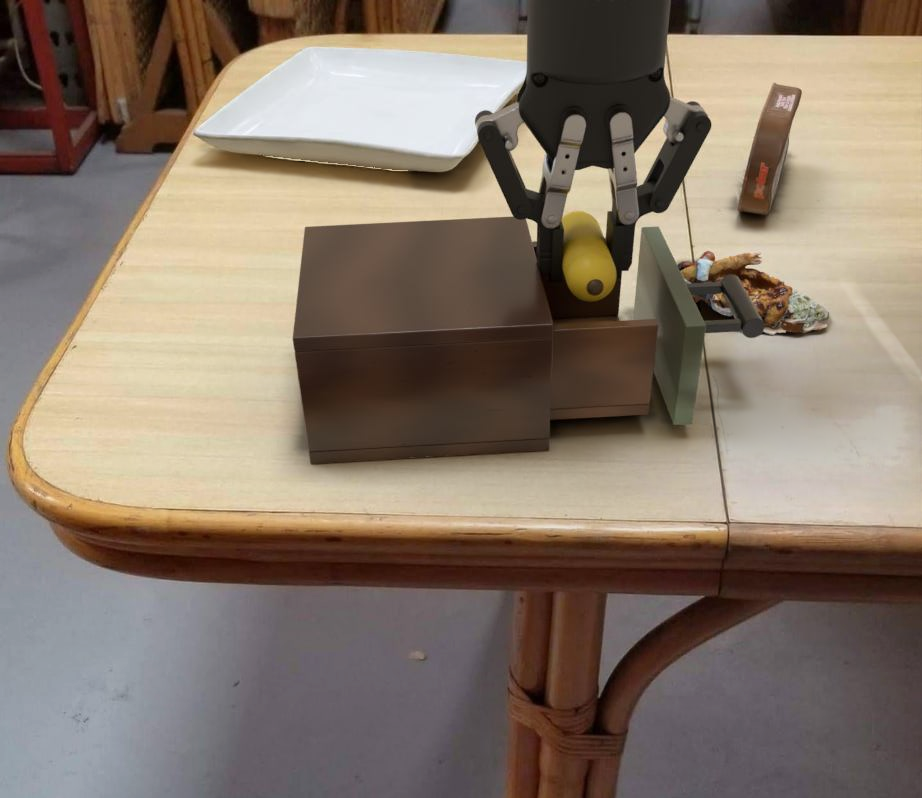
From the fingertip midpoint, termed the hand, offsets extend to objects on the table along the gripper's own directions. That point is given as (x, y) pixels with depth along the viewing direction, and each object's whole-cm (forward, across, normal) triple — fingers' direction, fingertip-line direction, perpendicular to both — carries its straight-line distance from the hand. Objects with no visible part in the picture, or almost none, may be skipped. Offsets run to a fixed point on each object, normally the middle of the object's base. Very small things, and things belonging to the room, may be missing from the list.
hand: (583, 275), depth 67 cm
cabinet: (+8, -10, 0) cm, 13 cm away
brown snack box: (+8, +21, +29) cm, 37 cm away
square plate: (+8, -13, +50) cm, 52 cm away
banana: (0, 0, 0) cm, 0 cm away
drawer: (+7, +2, 0) cm, 7 cm away
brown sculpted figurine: (+8, +14, +9) cm, 18 cm away
